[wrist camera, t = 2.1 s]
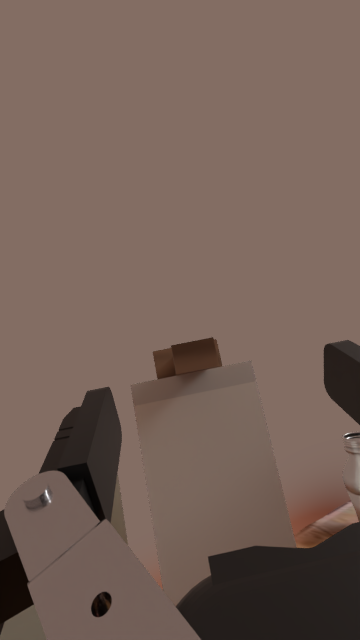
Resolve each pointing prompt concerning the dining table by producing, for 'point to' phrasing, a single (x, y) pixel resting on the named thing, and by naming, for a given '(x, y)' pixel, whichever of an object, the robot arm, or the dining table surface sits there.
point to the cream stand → (208, 471)
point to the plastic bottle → (353, 469)
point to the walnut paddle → (187, 358)
